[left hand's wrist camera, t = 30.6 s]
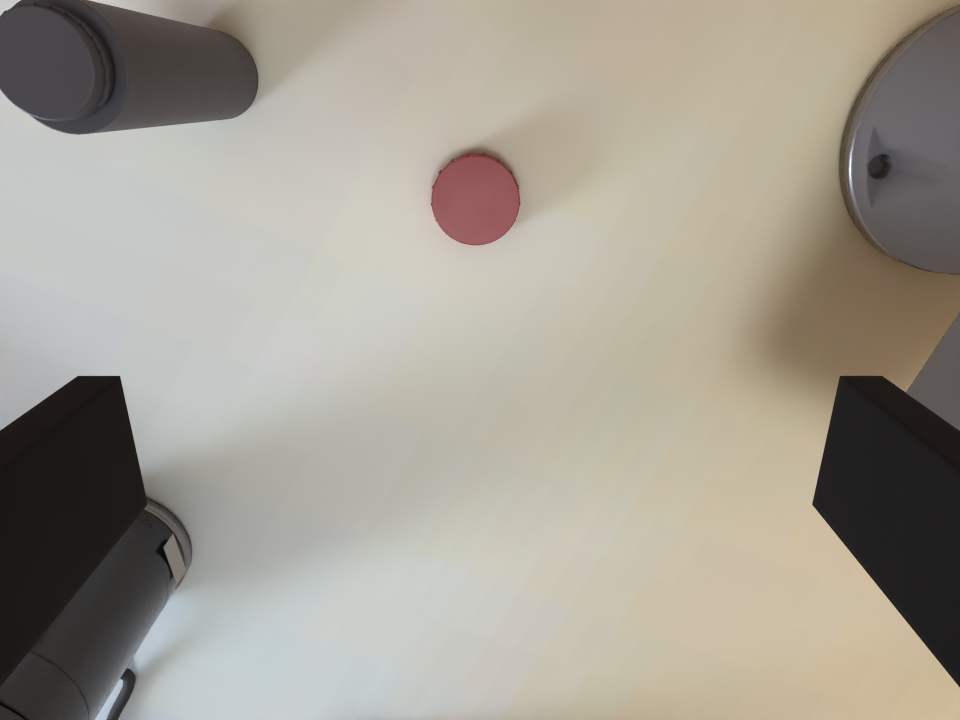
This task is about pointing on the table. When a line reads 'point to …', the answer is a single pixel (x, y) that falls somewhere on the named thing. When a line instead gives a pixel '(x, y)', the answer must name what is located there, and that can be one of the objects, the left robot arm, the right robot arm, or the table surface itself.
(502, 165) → the lid
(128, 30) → the jar
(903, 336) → the table surface
